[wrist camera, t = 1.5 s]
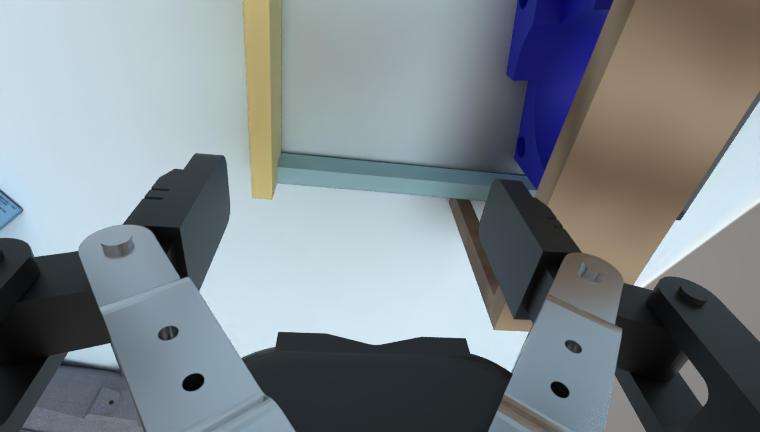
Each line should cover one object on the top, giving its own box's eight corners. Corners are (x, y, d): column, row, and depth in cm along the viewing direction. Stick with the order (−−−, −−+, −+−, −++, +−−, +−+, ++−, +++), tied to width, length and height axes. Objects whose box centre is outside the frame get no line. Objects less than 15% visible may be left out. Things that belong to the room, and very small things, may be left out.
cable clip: (522, -37, 23) (568, -27, 18) (601, -39, 23) (669, -30, 18) (492, 158, 30) (520, 203, 25) (554, 155, 30) (594, 200, 25)
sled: (255, -141, 20) (232, -157, 16) (720, -59, 23) (792, -56, 19) (263, 167, 29) (250, 202, 25) (593, 196, 32) (625, 232, 28)
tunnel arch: (540, -137, 20) (721, -199, 10) (651, -116, 21) (919, -155, 11) (448, 202, 32) (493, 329, 22) (523, 209, 32) (600, 334, 22)
